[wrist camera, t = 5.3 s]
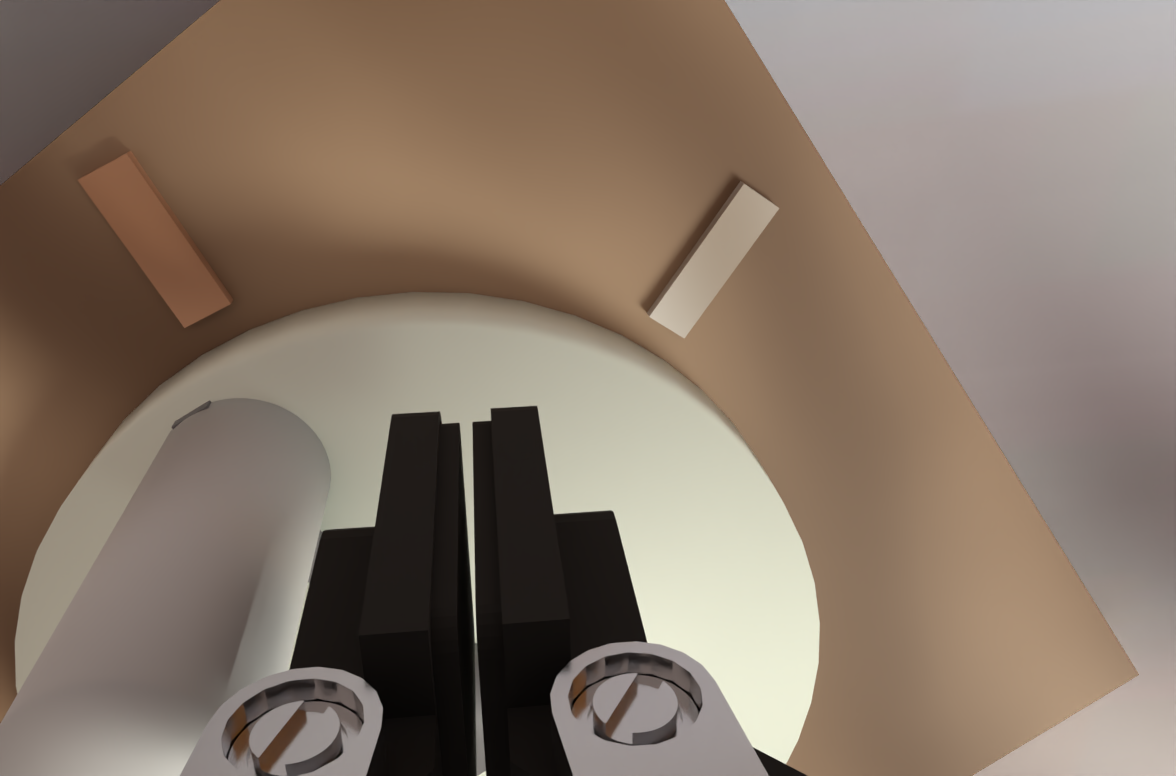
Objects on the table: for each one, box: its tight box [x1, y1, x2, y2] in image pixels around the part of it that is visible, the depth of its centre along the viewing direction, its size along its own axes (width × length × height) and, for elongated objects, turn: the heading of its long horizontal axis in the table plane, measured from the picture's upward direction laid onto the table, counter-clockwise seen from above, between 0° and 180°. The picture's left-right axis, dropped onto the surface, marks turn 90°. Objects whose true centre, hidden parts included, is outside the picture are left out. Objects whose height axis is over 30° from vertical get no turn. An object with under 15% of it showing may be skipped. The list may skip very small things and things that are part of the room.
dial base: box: [0, 0, 1139, 776], centre depth 19 cm, size 20×20×2 cm
